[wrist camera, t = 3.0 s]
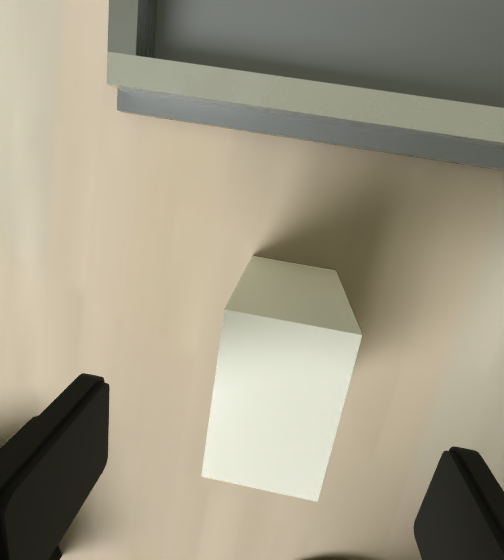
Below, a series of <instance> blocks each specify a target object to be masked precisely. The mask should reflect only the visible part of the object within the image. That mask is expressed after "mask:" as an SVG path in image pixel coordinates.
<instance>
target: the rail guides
mask: <svg viewBox="0 0 504 560" xmlns="http://www.w3.org/2000/svg"><path fill="white" fill-rule="evenodd" d="M157 9H158V0H109V23H108V59H107V84H109V85H111V86H113V87H115V88H117V89H119V90H121V91H124V92H126V93H128V94H135V95H141V96H148V97H155V98H161V99H168V100H175V101H181V102H188V103H195V104H202V105H208V106H215V107H222V108H228V109H235V110H242V111H248V112H255V113H262V114H268V115H275V116H282V117H288V118H295V119H302V120H308V121H315V122H322V123H328V124H335V125H342V126H348V127H355V128H362V129H368V130H375V131H382V132H388V133H395V134H402V135H408V136H415V137H422V138H428V139H435V140H442V141H448V142H455V143H462V144H468V145H475V146H482V147H489V148H495V149H502V150H504V108H500V107H493V106H486V105H479V104H472V103H465V102H458V101H451V100H444V99H437V98H430V97H423V96H416V95H409V94H402V93H395V92H388V91H381V90H374V89H367V88H360V87H353V86H346V85H339V84H332V83H325V82H318V81H311V80H304V79H297V78H289V77H282V76H275V75H268V74H261V73H254V72H247V71H240V70H233V69H226V68H219V67H212V66H205V65H198V64H191V63H184V62H177V61H170V60H163V59H156V58H155V41H156V25H157Z"/></svg>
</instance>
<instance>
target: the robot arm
mask: <svg viewBox="0 0 504 560" xmlns="http://www.w3.org/2000/svg"><path fill="white" fill-rule="evenodd" d="M108 426H109V384H107V383H105V382H104V378H103V377H100V376H95V375H90V374H85V373H83V374H81V375H79V376H78V377H77V378H76V379H75V380H74V381H73V382H72V383H71V384H70V385H69V386H68V387H67V388H66V389H65V390H64V391H63V392H62V393H61V394H60V395H59V396H58V397H57V398H56V399H55V400H54V401H53V402H52V403H51V404H50V405H49V406H48V407H47V408H46V409H45V410H44V411H43V412H42V413H41V414H40V415H39V416H36V417H33V418H32V419H31V420H30V421H28V422H27V423H26V424H25V425H24V426H23V427H22V428H21V429H20V430H19V431H18V432H17V433H16V434H15V435H14V436H13V437H12V438H11V439H10V440H9V441H8V442H7V443H6V444H5V445H4V446H3V447H2V448H1V449H0V560H49V558H50V557H51V555H52V553H53V552H54V550H55V548H56V547H57V545H58V544H59V542H60V540H61V539H62V537H63V535H64V534H65V532H66V531H67V529H68V527H69V526H70V524H71V522H72V521H73V519H74V518H75V516H76V514H77V513H78V511H79V509H80V508H81V506H82V505H83V503H84V501H85V500H86V498H87V496H88V495H89V493H90V492H91V490H92V488H93V487H94V485H95V483H96V482H97V480H98V479H99V477H100V475H101V474H102V472H103V470H104V468H105V466H106V463H107V459H108ZM414 535H415V539H416V542H417V545H418V548H419V551H420V555H421V558H422V560H504V491H503V490H502V488H501V487H500V485H499V483H498V482H497V480H496V479H495V477H494V476H493V474H492V472H491V471H490V469H489V468H488V466H487V465H486V463H485V461H484V460H483V458H482V457H481V455H480V454H479V453H478V452H477V451H474V450H469V449H464V448H459V447H451V448H450V449H449V451H444V452H443V454H442V456H441V458H440V461H439V463H438V465H437V468H436V470H435V473H434V475H433V478H432V480H431V483H430V485H429V488H428V490H427V492H426V495H425V497H424V500H423V502H422V505H421V507H420V510H419V512H418V514H417V517H416V519H415V522H414Z"/></svg>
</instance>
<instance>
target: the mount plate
mask: <svg viewBox="0 0 504 560" xmlns="http://www.w3.org/2000/svg"><path fill="white" fill-rule="evenodd" d="M155 58H156V59H163V60H170V61H177V62H184V63H191V64H198V65H205V66H212V67H219V68H226V69H233V70H240V71H247V72H254V73H261V74H268V75H275V76H282V77H289V78H297V79H304V80H311V81H318V82H325V83H332V84H339V85H346V86H353V87H360V88H367V89H374V90H381V91H388V92H395V93H402V94H409V95H416V96H423V97H430V98H437V99H444V100H451V101H458V102H465V103H472V104H479V105H486V106H493V107H500V108H504V0H158V9H157V25H156V41H155ZM117 110H118V111H121V112H125V113H132V114H138V115H145V116H151V117H158V118H164V119H171V120H178V121H184V122H191V123H197V124H204V125H210V126H217V127H223V128H230V129H236V130H243V131H249V132H256V133H262V134H269V135H275V136H282V137H288V138H295V139H301V140H308V141H314V142H321V143H327V144H334V145H340V146H347V147H353V148H360V149H366V150H373V151H380V152H386V153H393V154H399V155H406V156H412V157H419V158H425V159H432V160H438V161H445V162H451V163H458V164H464V165H471V166H477V167H484V168H490V169H497V170H503V171H504V150H502V149H495V148H489V147H482V146H475V145H468V144H462V143H455V142H448V141H442V140H435V139H428V138H422V137H415V136H408V135H402V134H395V133H388V132H382V131H375V130H368V129H362V128H355V127H348V126H342V125H335V124H328V123H322V122H315V121H308V120H302V119H295V118H288V117H282V116H275V115H268V114H262V113H255V112H248V111H242V110H235V109H228V108H222V107H215V106H208V105H202V104H195V103H188V102H181V101H175V100H168V99H161V98H155V97H148V96H141V95H135V94H128V93H126V92H124V91H121V90H119V89H118V96H117Z"/></svg>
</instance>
